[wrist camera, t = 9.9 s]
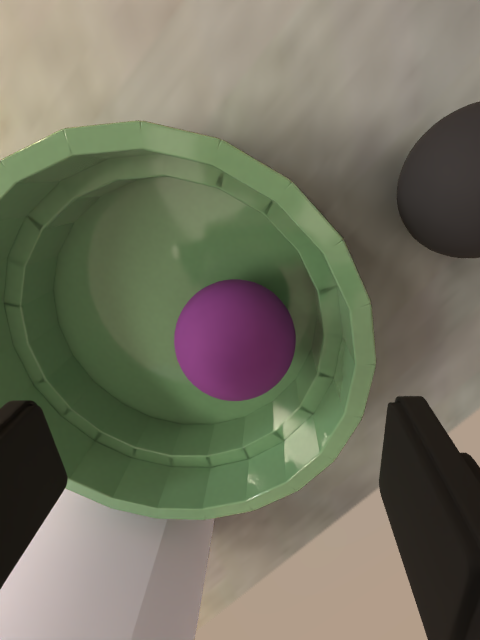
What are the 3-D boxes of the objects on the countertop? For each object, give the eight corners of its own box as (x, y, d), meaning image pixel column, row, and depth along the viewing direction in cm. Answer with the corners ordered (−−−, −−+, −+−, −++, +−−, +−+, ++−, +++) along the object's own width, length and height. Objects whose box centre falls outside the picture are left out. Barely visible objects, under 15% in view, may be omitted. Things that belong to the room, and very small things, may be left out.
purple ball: (182, 268, 18) (146, 307, 13) (291, 262, 17) (299, 301, 12) (196, 362, 20) (169, 428, 15) (293, 360, 19) (300, 428, 14)
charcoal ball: (385, 118, 15) (443, 90, 10) (524, 105, 14) (663, 68, 9) (375, 247, 17) (419, 278, 12) (496, 240, 17) (596, 270, 11)
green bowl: (-14, 157, 17) (-150, 149, 12) (354, 121, 15) (401, 92, 10) (77, 436, 24) (19, 515, 18) (340, 436, 22) (362, 525, 16)
